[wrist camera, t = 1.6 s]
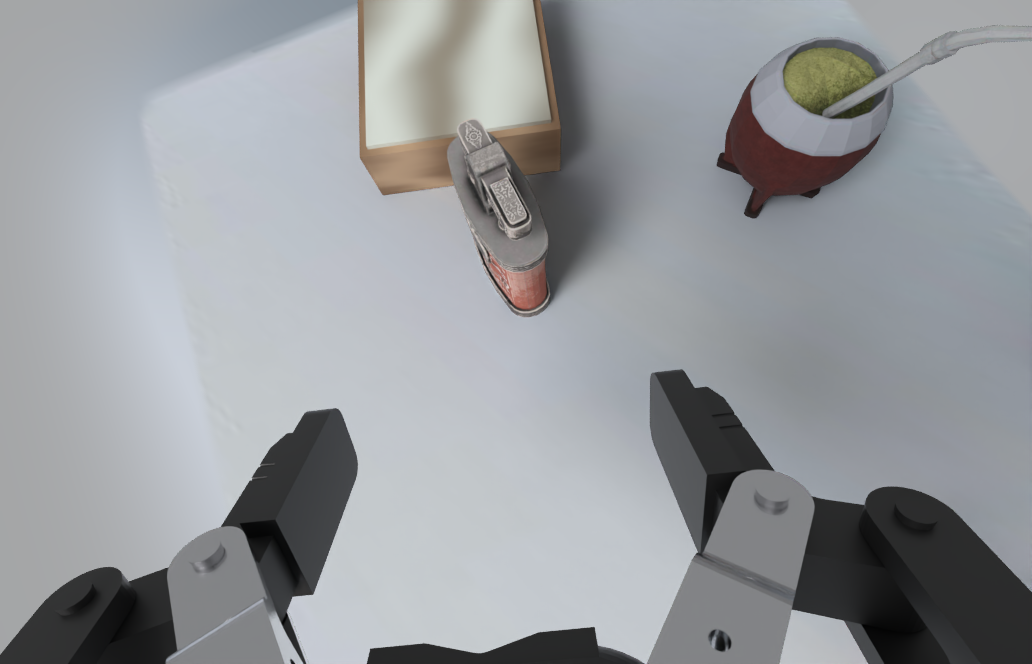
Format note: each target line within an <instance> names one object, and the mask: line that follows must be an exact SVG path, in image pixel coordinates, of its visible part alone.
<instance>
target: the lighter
mask: <svg viewBox="0 0 1032 664" xmlns="http://www.w3.org/2000/svg"><path fill="white" fill-rule="evenodd" d="M457 132H458V136H457V137H456V138H455V139H454V140H453V141H452V142H451V143H450V145H449V147H448V150H447V159H448V163H449V167H450V171H451V175H452V180H453V183H454V186H455V189H456V192H457V194H458V197H459V199H460V202H461V206H462V208H463V211H464V214H465V217H466V220H467V222H468V225H469V227H470V230H471V233H472V235H473V239H474V243H475V246H476V249H477V252H478V254H479V257H480V259H481V262H482V265H483V267H484V270H485V272H486V274H487V276H488V277H489V279H490V281H491V282H492V284H493V286H494V288H495V289H496V291H497V293H498V294H499V295H500V297H501V298H502V299H503V301H504V302H505V303H506V304H507V306H508V307H509V308H510V310H511V311H512V312H513V313H514V314H516V315H518V316H521V317H532V316H536V315H538V314H540V313H541V312H543V311H544V310H545V308H546V307H547V306H548V304H549V301H550V288H549V284H548V281H547V278H546V273H545V258H546V255H547V253H548V234H547V231H546V228H545V224H544V221H543V218H542V214H541V211H540V208H539V205H538V203H537V201H536V199H535V196H534V194H533V192H532V190H531V188H530V185H529V183H528V181H527V179H526V178H525V176H524V175H523V173H522V172H521V170H520V169H519V167H518V166H517V164H516V162H515V161H514V159H513V158H512V156H511V155H510V154H509V153H508V152H507V151H506V150H505V148H504V147H503V146H502V145H501V144H500V143H499V141H498V140H497V139H496V138H495V137H494V136H493V135H492V134H490V133H489V132H486V130H485V128H484V126H483V125H482V123H481V122H480V120H478V119H476V118H472V119H468V120H466V121H464V122H462V123H460V124H459V125H458V127H457Z"/></svg>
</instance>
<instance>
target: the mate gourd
mask: <svg viewBox="0 0 1032 664" xmlns="http://www.w3.org/2000/svg"><path fill="white" fill-rule="evenodd" d="M1015 41H1016V42H1017V41H1032V27H1031V26H1028V27H1027V26H995V25H994V26H986V27H980V28H973V29H967V30H962V31H960V32H957V31H956V32H955V31H954V32H948V33H946V34H944V35H942V36H940V37H938V38H936V39H934V40H932V41H931V42H929V43H927V44H925V45H924V46H923V48H922V49H921V50H920V52H918V53H917V54H915V55H914V56H912V57H910V58H909V59H907V60H906V61H904V62H902V63H901V64H899V65H898V66H896V67H895V68H893V69H891V70H890V71H889V70H888V69H887V67H886V66H885V65H884V63H883V62H882V61H881V59H880V58H879V57H878V55H877V54H875V53H874V52H872V51H871V50H869V49H868V48H866V47H865V46H863V45H861V44H860V43H857V42H853V41H850V40H846V39H842V38H839V37H831V38H814V39H811V40H808V41H805V42H802V43H799V44H796V45H794V46H792V47H789V48H787V49H785V50H784V51H782V52H780V53H779V54H778V55H776V56H775V57H774V58H773V59H772V60H771V61H769V62H768V63H767V64H766V65H765V66H764V67H762V68H761V69H760V70H759V72H758V74H757V75H756V76H755V77H754V78H753V79H752V80H751V82H750V83H749V84H748V86H747V88H746V89H745V91H744V93H743V95H742V97H741V100H740V102H739V104H738V107H737V109H736V111H735V113H734V115H733V117H732V119H731V122H730V125H729V127H728V130H727V133H726V141H725V153H721V154H720V155H719V158H718V162H717V166H718V167H720V168H722V169H725V170H728V171H731V172H734V173H737V174H740V175H742V176H743V178H744V179H745V180H746V181H747V182H748V183H749V184H750V185H752V186H753V187H754V189H753V191H752V194H751V196H750V199H749V201H748V204H747V206H746V209H745V212H744V214H745V215H746V216H748V217H751V218H756V217H757V216H758V215H759V213H760V211H761V209H762V206H763V204H764V202H765V201H766V200H767V199H768V198H769V197H771V196H772V195H774V196H778V195H798V194H799V195H802V196H805V197H809V198H813V197H814V196H815V195H817V194H818V193H819V191H820V188H821V187H822V186H825V185H827V184H830V183H832V182H834V181H835V180H837V179H839V178H841V177H842V176H843V175H844V174H846V173H847V172H848V171H849V170H850V169H852V168H853V167H854V166H855V165H856V164H857V163H858V162H859V161H861V160H862V159H863V158H864V157H865V156H866V155H867V154H868V153H869V152H870V151H871V150H872V148H873V147H874V146H875V144H876V143H877V141H878V139H879V137H880V135H881V133H882V132H883V131H884V130H885V127H886V124H887V121H888V118H889V115H890V112H891V109H892V107H893V88H892V84H894V83H896V82H897V81H899V80H901V79H903V78H904V77H906V76H908V75H909V74H911V73H913V72H914V71H916V70H918V69H919V68H921V67H923V66H925V65H928V64H929V65H930V64H934V63H936V62H939V61H941V60H943V59H944V58H947V57H949V56H952V55H954V54H955V53H956V52H957V51H958V50H959V49H960V48H963V47H966V46H972V45H978V44H983V43H989V42H1015Z"/></svg>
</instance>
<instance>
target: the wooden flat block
mask: <svg viewBox="0 0 1032 664" xmlns="http://www.w3.org/2000/svg"><path fill="white" fill-rule="evenodd" d="M358 55H359V131H360V159H361V160H362V162H363V164H364V165H365V167H366V169H367V170H368V172H369V173H370V175H371V177H372V178H373V180H374V182H375V183H376V185H377V186H378V188H379V190H380V191H381V193H382V195H388V194H395V193H402V192H409V191H417V190H424V189H431V188H438V187H445V186H452V185H454V183H453V180H452V175H451V171H450V167H449V163H448V159H447V150H448V147H449V145H450V143H451V142H452V141H453V140H454V139H455V138H456V137H457V136H458V132H457V127H458V125H459V124H460V123H462V122H464V121H466V120H468V119H472V118H476V119H478V120H480V122H481V123H482V125H483V126H484V128H485V130H486V132H489V133H490V134H492V135H493V136H494V137H495V138H496V139H497V140H498V141H499V143H500V144H501V145H502V146H503V147H504V148H505V150H506V151H507V152H508V153H509V154H510V155H511V156H512V158H513V159H514V161H515V162H516V164H517V166H518V167H519V169H520V170H521V172H522V173H523V175H531V174H538V173H545V172H552V171H559V170H560V154H561V127H560V120H559V114H558V108H557V102H556V96H555V89H554V83H553V77H552V71H551V65H550V58H549V52H548V46H547V40H546V34H545V27H544V21H543V15H542V9H541V2H540V0H358Z"/></svg>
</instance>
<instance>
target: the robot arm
mask: <svg viewBox="0 0 1032 664" xmlns="http://www.w3.org/2000/svg"><path fill="white" fill-rule="evenodd" d="M650 429H651V435H652V440H653V443H654V446H655V449H656V451H657V454H658V456H659V459H660V461H661V463H662V466H663V468H664V471H665V473H666V476H667V478H668V480H669V483H670V485H671V488H672V490H673V493H674V495H675V497H676V500H677V502H678V505H679V507H680V510H681V512H682V514H683V517H684V519H685V522H686V524H687V527H688V529H689V531H690V534H691V536H692V539H693V541H694V544H695V546H696V548H697V551H698V553H696V555H695V556H694V558H693V559H692V561H691V564H690V566H689V568H688V570H687V573H686V575H685V577H684V579H683V582H682V584H681V586H680V589H679V591H678V593H677V596H676V598H675V600H674V602H673V605H672V607H671V609H670V612H669V614H668V616H667V619H666V621H665V623H664V625H663V628H662V630H661V632H660V635H659V637H658V639H657V641H656V644H655V646H654V648H653V651H652V653H651V655H650V658H649V660H648V662H647V664H779V662H780V658H781V653H782V649H783V645H784V640H785V636H786V632H787V627H788V623H789V619H790V614H791V610H792V609H793V610H797V611H802V612H807V613H811V614H816V615H821V616H826V617H830V618H835V619H840V620H844V621H845V623H846V625H847V627H848V628H849V630H850V632H851V634H852V635H853V637H854V639H855V641H856V643H857V644H858V646H859V648H860V650H861V651H862V653H863V655H864V657H865V659H866V660H867V662H868V664H1032V592H1031V591H1030V590H1029V589H1028V588H1027V587H1026V586H1025V585H1024V584H1023V583H1022V582H1021V581H1020V580H1019V578H1018V577H1017V576H1016V575H1015V574H1014V573H1013V572H1012V571H1011V570H1010V569H1009V568H1008V567H1007V566H1006V565H1005V564H1004V563H1003V562H1002V561H1001V560H1000V559H999V558H998V556H997V555H996V554H995V553H994V552H993V551H992V550H991V549H990V548H989V547H988V546H987V545H986V544H985V543H984V542H983V541H982V540H981V539H980V538H979V537H978V536H977V535H976V533H975V532H974V531H973V530H972V529H971V528H970V527H969V526H968V525H967V524H966V523H965V522H964V521H963V520H962V519H961V518H960V517H959V516H958V515H957V514H956V513H955V512H954V511H953V510H952V509H951V508H949V507H948V506H947V505H945V504H944V503H942V502H941V501H939V500H937V499H935V498H933V497H931V496H929V495H927V494H924V493H922V492H919V491H916V490H913V489H908V488H903V487H882V488H879V489H876V490H874V491H872V492H871V493H870V494H869V495H868V496H867V498H866V501H865V505H859V504H852V503H845V502H838V501H831V500H825V499H820V498H816V497H813V496H811V495H810V493H809V492H808V490H807V489H806V488H805V487H804V486H803V485H801V484H800V483H799V482H798V481H796V480H794V479H793V478H791V477H789V476H787V475H784V474H782V473H779V472H775V471H774V469H773V468H772V467H771V465H770V464H769V462H768V461H767V459H766V458H765V456H764V455H763V454H762V452H761V451H760V449H759V448H758V446H757V445H756V443H755V442H754V441H753V439H752V438H751V436H750V435H749V433H748V432H747V430H746V429H745V428H744V427H743V426H742V423H741V422H740V420H739V419H738V417H737V416H736V415H734V412H733V410H732V409H731V407H730V406H729V404H728V403H727V402H726V400H725V399H724V398H723V397H722V396H720V395H719V394H717V393H716V392H714V391H713V390H711V389H710V388H708V387H700V388H694V386H693V385H692V383H691V381H690V380H689V378H688V376H687V375H686V373H685V372H684V371H683V370H682V369H681V370H672V371H664V372H655V373H652V374H651V378H650ZM260 465H261V466H260V467H258V469H257V470H256V472H255V473H254V475H253V477H252V481H249V483H248V485H247V486H246V488H245V489H244V491H243V492H242V494H241V496H240V497H239V499H238V500H237V502H236V504H235V505H234V507H233V508H232V510H231V512H230V513H229V515H228V516H227V518H226V520H225V521H224V523H223V524H222V526H221V527H220V528H216V529H213V530H210V531H208V532H206V533H204V534H202V535H200V536H198V537H197V538H195V539H194V540H192V541H191V542H190V543H188V544H187V545H186V546H185V547H184V548H183V549H182V550H181V551H180V552H179V553H178V554H177V555H176V556H175V557H174V559H173V561H172V562H171V564H170V566H169V567H168V568H165V569H163V570H160V571H157V572H154V573H152V574H149V575H146V576H143V577H141V578H138V579H135V580H132V581H129V582H128V580H127V579H126V578H125V577H124V576H123V574H122V573H121V571H119V570H118V569H116V568H114V567H103V568H98V569H95V570H92V571H89V572H86V573H84V574H82V575H80V576H78V577H76V578H74V579H73V580H71V581H69V582H68V583H66V584H65V585H63V586H62V587H60V588H59V589H58V590H57V591H55V592H54V593H53V594H52V595H51V596H50V597H49V598H48V599H46V600H45V601H44V603H43V604H42V605H41V606H40V607H39V608H38V610H37V611H36V612H35V613H34V614H33V616H32V617H31V618H30V619H29V621H28V622H27V623H26V624H25V625H24V627H23V628H22V629H21V630H20V631H19V633H18V634H17V635H16V636H15V638H14V639H13V640H12V641H11V642H10V644H9V645H8V646H7V647H6V649H5V650H4V651H3V652H2V653H1V655H0V664H309V662H308V659H307V657H306V654H305V652H304V649H303V646H302V644H301V641H300V639H299V636H298V634H297V631H296V628H295V626H294V623H293V621H292V618H291V616H290V614H289V612H288V611H287V609H288V607H289V604H290V602H291V599H292V597H293V596H303V595H313V594H314V591H315V588H316V586H317V583H318V580H319V578H320V575H321V572H322V569H323V567H324V564H325V561H326V559H327V556H328V553H329V550H330V548H331V545H332V542H333V539H334V537H335V534H336V531H337V529H338V526H339V523H340V520H341V518H342V515H343V512H344V510H345V507H346V504H347V501H348V499H349V496H350V493H351V491H352V488H353V485H354V482H355V480H356V476H357V469H358V463H357V456H356V452H355V449H354V446H353V444H352V441H351V438H350V435H349V433H348V430H347V427H346V424H345V422H344V419H343V416H342V414H341V412H340V411H339V410H338V409H336V408H335V409H326V410H318V411H309V412H306V413H305V414H304V415H303V417H302V418H301V420H300V422H299V423H298V425H297V427H296V429H295V430H294V432H293V433H287V434H286V435H285V436H284V437H283V438H281V439H280V440H279V441H278V442H277V443H276V444H275V445H273V446H272V447H271V448H270V450H269V451H268V453H267V454H266V456H265V458H264V459H263V461H262V462H261V464H260ZM367 664H644V663H642V662H641V661H639V660H638V659H636V658H634V657H631V656H629V655H627V654H625V653H623V652H620V651H617V650H614V649H610V648H606V647H601V646H598V645H597V639H596V633H595V627H590V628H580V629H570V630H559V631H549V632H539V633H536V634H533V635H531V636H528V637H525V638H523V639H520V640H518V641H515V642H512V643H510V644H507V645H504V646H502V647H499V648H496V649H494V650H491V651H488V652H485V653H471V652H466V651H461V650H456V649H451V648H445V647H440V646H435V645H430V644H415V645H404V646H394V647H384V648H373V649H370V653H369V657H368V661H367Z"/></svg>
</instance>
